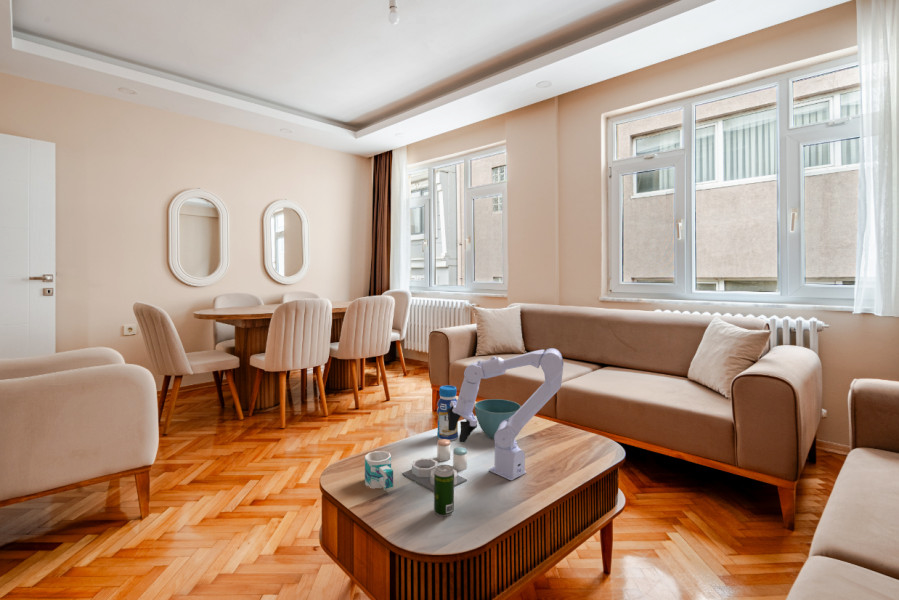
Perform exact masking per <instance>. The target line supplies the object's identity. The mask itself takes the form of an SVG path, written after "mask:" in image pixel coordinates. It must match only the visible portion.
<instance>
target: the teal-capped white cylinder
mask: <svg viewBox="0 0 899 600" xmlns="http://www.w3.org/2000/svg"><path fill="white" fill-rule="evenodd" d="M452 454H453V455H452V456H453V457H452V464H453V465H452V467H453V469H454V470H456V471H457V472H461V471H465V470H467V468H468V467H467V466H468V450H467V448H465V447H460V446H459V447H455V448H453V452H452Z"/></svg>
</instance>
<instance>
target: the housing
mask: <svg viewBox="0 0 899 600" xmlns="http://www.w3.org/2000/svg"><path fill="white" fill-rule="evenodd" d="M438 464H439V463H438V461H437V460H435V459H432V458H425V457H424V458H418V459H416V460H413V461H412V464H411V469H409V470H407V471H404V472H402V475H403V476H404V475H405V477H406V478H409V480H411V479H412V480H411V481H413V480H414V481H413V482H415V481H416V482H415V483H417V484H418V485H421V486H422V487H424V488H426V489H427V490H429V491H431V492H433V493H434V471H435V468H436V467H437V466H439V465H438ZM453 471H454V488H455V487H457V486H459V485H462V484H463V483H466V482H467V480H468V479H467V478H465V477H463V476H461V475H458V471H457V470H455V469H453Z"/></svg>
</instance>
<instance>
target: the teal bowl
mask: <svg viewBox="0 0 899 600" xmlns="http://www.w3.org/2000/svg"><path fill="white" fill-rule="evenodd" d="M521 406H522V405H520V404H519V403H517V402H515V401H512V400H508V399H498V398H497V399H496V398H493V399H492V398H491V399H490V398H489V399H488V398H487V399H482V400H479V401H477V402H475V404H474V410H475V416H476V417H475V418H476V420H477V424H478V425H479V427H480V429H481V430H482V432H483V433H484V435H485V436H487V438H488V439H492V440H494V435H495V433H496V431H497V430H498V427H499V424H500V423H501V422H502V421H504V420H507V419H509V418H510V417H511V416H512V415H514V414H515V413H516V412H517V410H518V409H519V408H520V407H521Z"/></svg>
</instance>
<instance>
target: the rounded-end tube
mask: <svg viewBox="0 0 899 600" xmlns="http://www.w3.org/2000/svg"><path fill="white" fill-rule="evenodd" d="M436 443H437V447H436V448H437V452H436V453H437V455H436V456H437V458H436V459H437V460H438V461H440V462H447V461H450V460H451V441H450V440H448V439H438V440H437V442H436Z"/></svg>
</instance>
